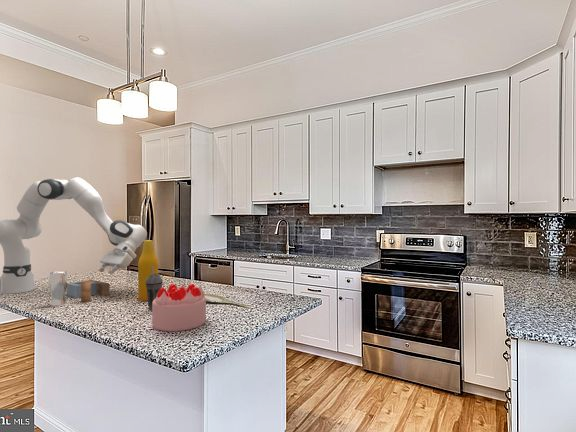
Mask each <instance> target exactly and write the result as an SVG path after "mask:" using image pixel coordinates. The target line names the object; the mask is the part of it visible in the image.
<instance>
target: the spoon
mask: <svg viewBox="0 0 576 432" xmlns="http://www.w3.org/2000/svg"><path fill="white" fill-rule="evenodd" d="M204 297H205V298H206V303H211V304H219V303H220V304H232V305H237V306H241V307H242V308H246V307H247V308H246V309H251V307H252V306H253V305H248V304H245V303H240V302H236V301H231V300H229V299H227V298H226V297H224V296H222V295H217V294H211V293H205V296H204Z"/></svg>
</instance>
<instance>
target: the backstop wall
mask: <svg viewBox="0 0 576 432" xmlns="http://www.w3.org/2000/svg"><path fill="white" fill-rule="evenodd" d="M90 280H91V282H96V283H97V294H96V295H99V296H103V297H105V296H109V295H110V283H108V282H104V281H100V280H95V279H90Z"/></svg>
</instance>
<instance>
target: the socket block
mask: <svg viewBox="0 0 576 432" xmlns="http://www.w3.org/2000/svg"><path fill="white" fill-rule="evenodd" d="M93 295H98V294H97V283H96V282H91V296H93ZM66 296H68V297H72V298H75V299H76V298H81V281H74V282H70V283H69V282H67V288H66Z"/></svg>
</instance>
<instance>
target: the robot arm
mask: <svg viewBox="0 0 576 432" xmlns="http://www.w3.org/2000/svg"><path fill="white" fill-rule="evenodd" d="M71 199H73V200H74V201H75V202H76V203H77V204H78V205H79V206H80V207H81V208H82V209H83V210H84V211H85V212H86V213H88V214H89V216H91V217H92V218H93V220H94V221H95V222H96V223H97V224H98V226H100V228H102V230H103V231H104V232H105V234H107V237H108V238H107V239H108V241H109V243H111V245H113V246H115V247H114V249H113V250H110V251H108V252H107V253H106V254H104V256H103V257H102V258H101V259H100V261H99V262H100V263H101V265H100V268H99V269H98V271H99V272H100V273H103V272H104V271H105V268H107V267H112V268H111V269H109V270H108V273H109V274H110V275H113V274H114V273H115V272H116V271H117V270H119V269H126V268H127V267H128V266H129V265H130V264H131V263H132V261H133V260H135V259H136V258H137V256H138V255H137V254H136V253H135V252H136V250H137V248H139V247H141V245H142V244H143V243H144V241H145V240H146V238H147V236H148V232H147V230H146V229H145V227H144V226H143V225H141V224H133V223H129V222H126V221H125V220H122V219H116V220H115V221H113V220H112V219H111V218H110V217H109V215H108V214H107V213H106V210H105V206H104V202H103V198H102V197H101V195H100V194H99V192H98V191H97V190H96V189H95V188H94V187H93V185H91V184H90V183H88V182H87V181H86V180H85V179H83V178H81V177H73V178H71V179H63V178H62V179H61V178H54V179H51V178H47V179H43V180H36V181H33V183H32V184H31V185H30V186H29V187H28V188H27V189H26V191H25V193H24V194H23V195H22V197H21V199H20V200H19V202H18V204H17V206H16V210H17V212H18V213H19V217H18V218H16V219H2V220H0V245H1V246H0V247H2V250H3V259H4V262H3V263H4V265H3V267H2V274H1V276H0V295H4V294H5V295H8V294H9V295H10V294H11V295H12V294H19V293H20V294H21V293H27V292H30V291H34V290H37V289H39V286H37V285H36V281H35V274H34V273H33V272H32V264H31V251H30V249H29V248H28V247H26V246H25V245H24V243H23V240H29V239H33V238H36V237H39V236H40V235H41V233H42V231H43V227H42V224H41V223H40V217H41V215H42V213H43V211H44V209H45V208H46V206H47V205H48V202H49V201H50V200H53V201H55V200H56V201H61V200H62V201H63V200H71Z"/></svg>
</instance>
